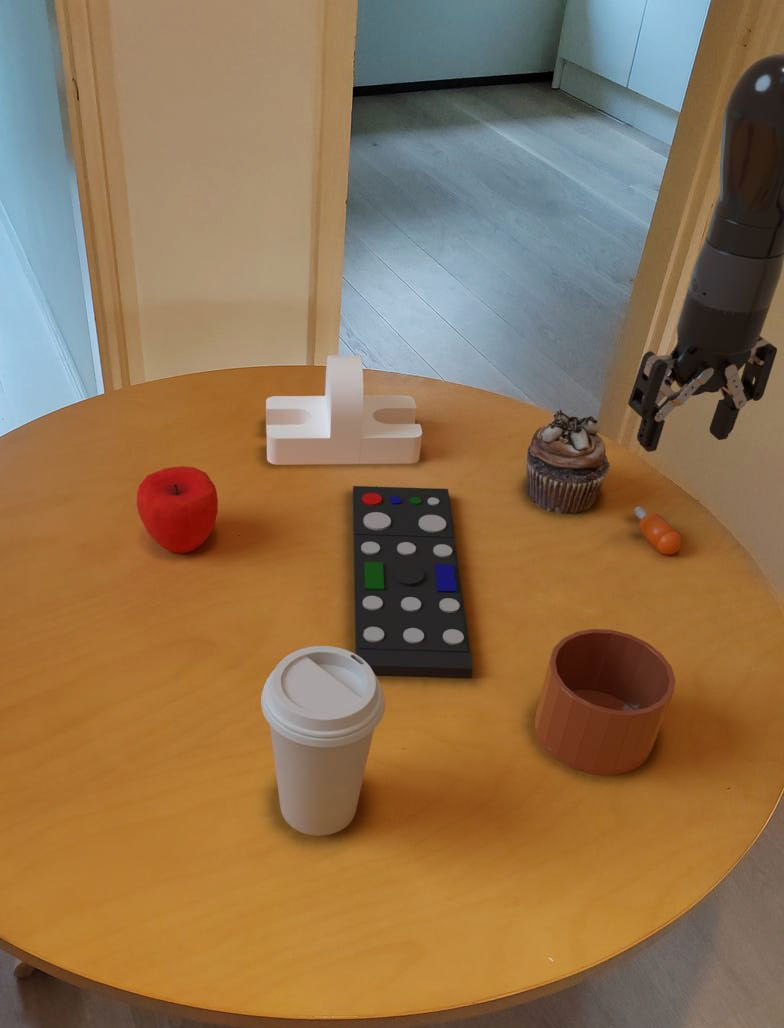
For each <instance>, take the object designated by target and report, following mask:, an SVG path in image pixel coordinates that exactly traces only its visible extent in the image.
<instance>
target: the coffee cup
mask: <svg viewBox="0 0 784 1028" xmlns="http://www.w3.org/2000/svg"><path fill="white" fill-rule="evenodd" d="M260 706H261V710H262V714H263V716H264V718H265V720H266V721H267V723H268V724H269V730H270V736H271V745H272V752H273V759H274V769H275V776H276V783H277V790H278V791H277V792H278V799H279V807H280V812H281V814H282V817H283V819H284V820H285V822H286V823H287V824H288V825H289V826H290V827H292V828H293V829H294V830H296V831H298V832H300V833H302V834H305V835H307V836H308V835H309V836H314V837H323V836H330V835H333V834H336V833H338V832H341V831H342V830H344V829H346V827H348V826H349V825H350V824H351V822H352V821H353V819H354V818H355V815H356V812H357V807H358V803H359V799H360V794H361V790H362V786H363V781H364V776H365V772H366V767H367V762H368V758H369V754H370V750H371V744H372V741H373V736H374V732H375V729H376V728H377V727H378V725H380V723H381V721H382V719H383V718H384V714H385V711H386V697H385V692H384V690H383V686H382V685H381V682H380V680H379V678H378V676H376V675H375V674H374V673H373V671H372V669H371V667H370V666H369V665H368V664H367V663H366V662H365V661H364V660H363V659H362V658H361V657H359V656H358V655H356V654H355V652H352V651H350V650H347V649H345V648H341V647H337V646H330V645H315V646H307V647H303V648H300V649H297V650H295V651H292V652H291V653H289V654H288V655H286V656H285V657H283V658H282V659H281V660H280V661H279V662H278V664H277V665H276V667H275V668H274V669H273V670H272V672H271V673H270V674H269V676H268V677H267V679H266V681H265V683H264V686H263V687H262V692H261V697H260Z"/></svg>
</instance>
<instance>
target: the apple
mask: <svg viewBox="0 0 784 1028" xmlns="http://www.w3.org/2000/svg"><path fill="white" fill-rule="evenodd" d="M136 508H137V511H138V515H139V518H140V520H141V522H142V524H143V526H144V528H145V530H146V531H147V534H148V535H149V536H150V537H151V538H152V540H153V541H154V542H155V543H157V544H158V545H159V546H160V547H162V548H163V549H165V550H167V551H169V552H172V553H176V554H185V553H189V552H194V551H195V550H196V549H198V548H199V547H201V546H202V545H203V544H204V542H205V541H206V540H207V538H208V537H209V536H210V535H211V532H212V531H213V529H214V527H215V525H216V520H217V516H218V511H219V499H218V491H217V488H216V486H215V484H214V482H213V481H212V479H211V478H210V476H209V475H208V474H207V472H205V471H203V470H201V469H199V468H196V467H194V466H185V465H184V466H183V465H179V466H172V467H171V466H170V467H164V468H162V469H160V470H157V471H154V472H152V473H150V474H147V476H145V478H144V479H143V480H142V482H141V483H140V484H139V485H138V489H137V492H136Z"/></svg>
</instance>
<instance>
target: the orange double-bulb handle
mask: <svg viewBox="0 0 784 1028" xmlns="http://www.w3.org/2000/svg"><path fill="white" fill-rule="evenodd" d="M633 511H634V514H635V515H636V516H637V518H639V519H640V522H639V530H640V532H641V534H642V535H643V536H644V538H646V540H647V541H649V542H650V544H651V545H652V546H653V547H654V548H655V549H656V550H657V551H658V552H659V553H661V554H663V555H666V556H667V555H668V556H670V555H673V554H675V553H677V552H678V551H679V550H680V549H681V547H682V537H681V535H680V534H679V532H677V530H676V529H675V528H674V527H673V526H672V525H671V524H670V523H669V521H668V520H666V519H665V518H664V516H662V515H661V514H658V513H655V512H651V513H648V512H647V511H646V510H645V509H644V508H643V507H642V506H636V507H635V508H634V510H633Z"/></svg>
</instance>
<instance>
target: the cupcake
mask: <svg viewBox="0 0 784 1028" xmlns="http://www.w3.org/2000/svg"><path fill="white" fill-rule="evenodd" d="M600 430H601V424H600V422H598V419H595V418H594V417H593V416H592V415H589V416H588V417H587V416H586V417H583V418H580V419H579V417H577V416H569V415H567V414H565V413H564V412H563V410H561V409H559V410H557V411H555V414H553V417H552V420H551V422H550V423H548V424H545V425H542V426H541V427H539V428H538V429H536V430H535V432H534V433H533V436H532V438H531V442H530V444H529V446H528V448H527V452H526V461H525V463H526V493H527V495H528V497H529V499H530V501H531V502H532V503H534V504H535V505H536V506H538V507H540V508H541V509H543V510H546V511H547V512H550V513H551V512H552V513H556V514H560V515H561V514H562V515H574V514H579V513H583V512H585V511H587V510H588V509H589V508H591V507H592V506H593V505H594V503H595V500H596V498H597V496H598V494H599V492H600V490H601V488H602V486H603V484H604V482H605V481H606V478H607V477H608V475H609V473H610V470H611V464H610V462H609V459H608V457H607V455H606V454H607V453H606V452H607V451H606V444H605V441H604V440H603V438H602V437H601V436H599V434H598V432H599V431H600Z"/></svg>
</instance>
